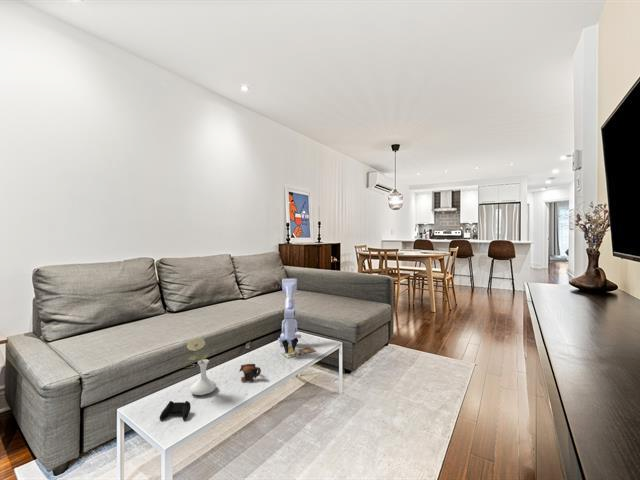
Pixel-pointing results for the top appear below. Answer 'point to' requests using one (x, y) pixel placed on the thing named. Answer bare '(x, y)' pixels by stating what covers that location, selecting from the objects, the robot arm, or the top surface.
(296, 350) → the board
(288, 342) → the robot arm
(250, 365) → the pottery mug
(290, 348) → the ball
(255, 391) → the top surface
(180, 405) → the gaming controller
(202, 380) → the flower in vase
